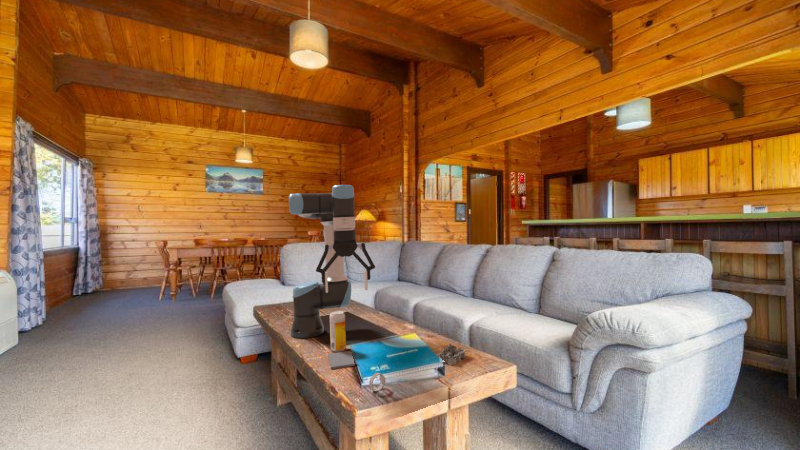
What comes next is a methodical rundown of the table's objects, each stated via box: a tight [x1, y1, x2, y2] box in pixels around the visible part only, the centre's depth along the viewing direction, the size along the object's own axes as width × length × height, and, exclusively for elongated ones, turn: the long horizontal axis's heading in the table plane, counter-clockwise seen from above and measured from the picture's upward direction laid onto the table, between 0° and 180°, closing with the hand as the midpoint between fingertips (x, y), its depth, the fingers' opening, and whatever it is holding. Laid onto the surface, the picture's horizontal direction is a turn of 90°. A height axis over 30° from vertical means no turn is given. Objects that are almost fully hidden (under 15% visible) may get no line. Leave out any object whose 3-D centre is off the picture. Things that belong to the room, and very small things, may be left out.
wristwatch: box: [368, 372, 387, 392], centre depth 109 cm, size 3×5×5 cm, turn 134°
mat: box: [327, 350, 356, 370], centre depth 133 cm, size 13×9×1 cm
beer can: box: [329, 310, 347, 353], centre depth 144 cm, size 6×6×15 cm
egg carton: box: [437, 343, 466, 366], centre depth 131 cm, size 11×8×4 cm
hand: (346, 290), depth 125 cm, fingers open, 13 cm apart
